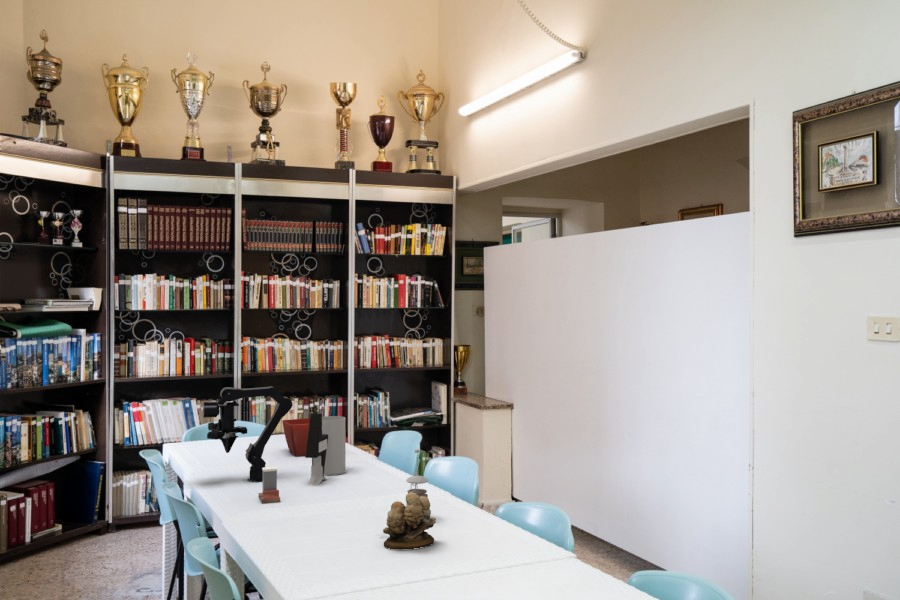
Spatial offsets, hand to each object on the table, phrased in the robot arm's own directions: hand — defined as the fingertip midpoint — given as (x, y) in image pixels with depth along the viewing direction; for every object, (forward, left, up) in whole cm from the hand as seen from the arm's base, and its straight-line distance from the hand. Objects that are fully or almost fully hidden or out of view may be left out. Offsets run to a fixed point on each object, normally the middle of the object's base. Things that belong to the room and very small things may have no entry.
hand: (227, 452), depth 346 cm
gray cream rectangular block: (+14, +36, -11) cm, 40 cm away
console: (+13, +36, -13) cm, 40 cm away
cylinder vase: (-38, +27, -13) cm, 49 cm away
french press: (+6, +100, -13) cm, 101 cm away
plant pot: (-67, -13, -13) cm, 69 cm away
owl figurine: (+34, +115, -13) cm, 121 cm away
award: (-20, +33, -13) cm, 41 cm away
